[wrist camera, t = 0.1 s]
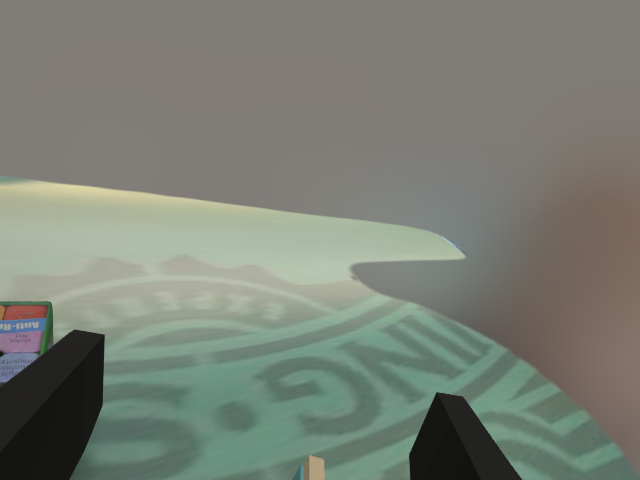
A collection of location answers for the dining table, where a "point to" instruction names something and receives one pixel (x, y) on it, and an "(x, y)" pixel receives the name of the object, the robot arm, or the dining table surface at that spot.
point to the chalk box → (23, 335)
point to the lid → (311, 469)
